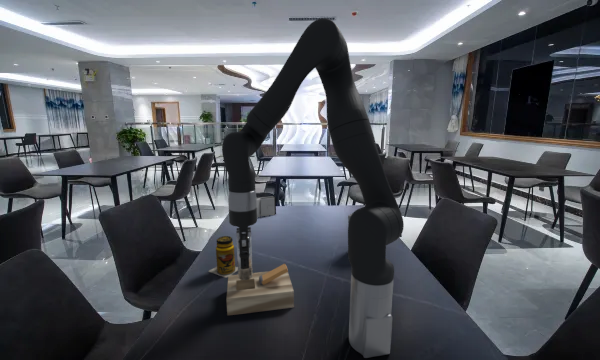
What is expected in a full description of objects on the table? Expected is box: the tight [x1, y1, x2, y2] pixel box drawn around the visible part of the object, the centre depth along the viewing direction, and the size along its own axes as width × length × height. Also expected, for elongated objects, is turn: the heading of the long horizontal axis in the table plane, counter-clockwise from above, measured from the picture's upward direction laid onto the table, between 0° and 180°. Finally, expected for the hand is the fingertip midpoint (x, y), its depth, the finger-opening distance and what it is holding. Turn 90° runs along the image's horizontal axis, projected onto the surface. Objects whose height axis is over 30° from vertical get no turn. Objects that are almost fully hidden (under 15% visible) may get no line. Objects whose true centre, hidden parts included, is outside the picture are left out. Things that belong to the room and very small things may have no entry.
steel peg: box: [236, 236, 253, 280], centre depth 81 cm, size 4×4×12 cm
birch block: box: [226, 270, 295, 317], centre depth 84 cm, size 12×18×5 cm, turn 101°
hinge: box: [256, 195, 277, 219], centre depth 158 cm, size 14×5×10 cm, turn 124°
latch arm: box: [259, 263, 289, 285], centre depth 84 cm, size 9×3×1 cm, turn 101°
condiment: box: [208, 235, 238, 279], centre depth 99 cm, size 7×8×12 cm
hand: (244, 264), depth 82 cm, fingers closed on steel peg, 4 cm apart
